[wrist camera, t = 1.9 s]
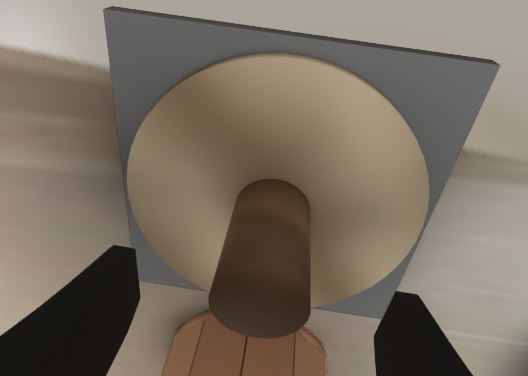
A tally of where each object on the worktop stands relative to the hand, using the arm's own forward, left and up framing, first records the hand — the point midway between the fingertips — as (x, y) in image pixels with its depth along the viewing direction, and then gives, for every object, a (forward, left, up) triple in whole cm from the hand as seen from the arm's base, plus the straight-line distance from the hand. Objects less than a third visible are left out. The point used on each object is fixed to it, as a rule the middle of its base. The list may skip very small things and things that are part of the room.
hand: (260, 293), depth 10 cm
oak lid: (0, 0, -5) cm, 5 cm away
